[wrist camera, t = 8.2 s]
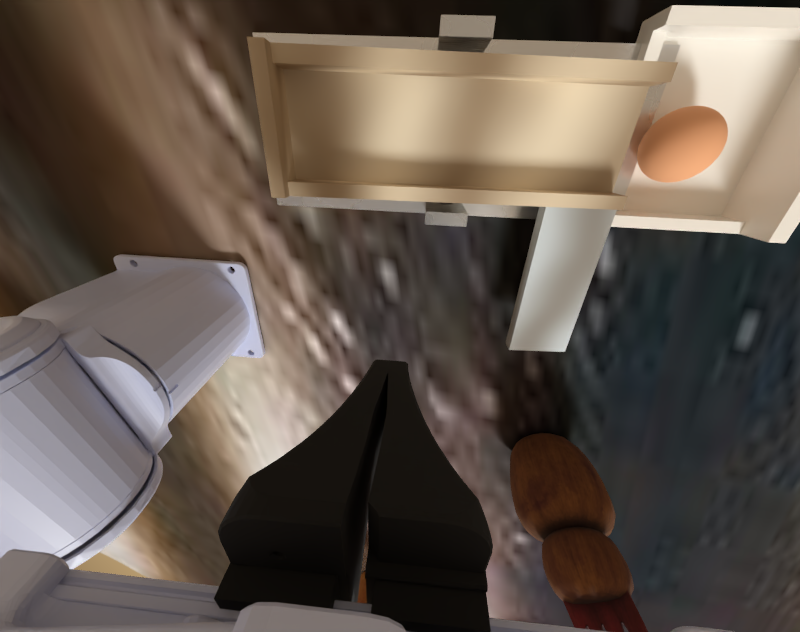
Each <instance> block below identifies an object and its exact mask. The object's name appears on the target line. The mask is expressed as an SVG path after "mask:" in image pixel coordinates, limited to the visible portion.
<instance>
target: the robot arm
mask: <svg viewBox="0 0 800 632" xmlns="http://www.w3.org/2000/svg"><path fill="white" fill-rule="evenodd" d="M113 260H114V263H115V266H116V268H117V271H114V272H112V273H110V274H107V275H105V276H102V277H100V278H97V279H95V280H93V281H90V282H88V283H85V284H83V285H80V286H78V287H75V288H73V289H71V290H68V291H66V292H63V293H61V294H58V295H56V296H54V297H51V298H49V299H46V300H44V301H41V302H39V303H37V304H34V305H33V306H31V307H29V308H27V309H26V310H24V311H23V312H21V313H20V314H19V315H18V316H7V317H0V632H607V631H598V630H589V629H581V628H572V627H564V626H555V625H546V624H538V623H529V622H521V621H512V620H503V619H495V618H489V613H488V605H487V597H486V592H487V578H486V571H485V570H486V568H487V565H488V562H489V560H490V557H491V554H492V548H493V544H492V539H491V535H490V531H489V527H488V524H487V521H486V518H485V515H484V512H483V510H482V507H481V505H480V502H479V500H478V498H477V497H476V496H475V495H474V494H473V492H472V491H471V490H470V489H469V488H468V486H467V485H466V484H465V483H464V482H463V480H462V479H461V478H460V476H459V475H458V474H457V472H456V471H455V470H454V468H453V467H452V466H451V464H450V463H449V461H448V460H447V458H446V457H445V455H444V454H443V452H442V451H441V449H440V448H439V446H438V444H437V443H436V441H435V439H434V437H433V436H432V434H431V432H430V430H429V428H428V426H427V424H426V422H425V420H424V418H423V416H422V413H421V411H420V409H419V406H418V404H417V401H416V398H415V395H414V392H413V389H412V386H411V382H410V378H409V372H408V364H407V363H406V362H401V361H388V360H375V361H374V362H373V363H372V365H371V367H370V369H369V370H368V372H367V373H366V375H365V376H364V378H363V379H362V381H361V382H360V383H359V385H358V386H357V387H356V389H355V390H354V391H353V393H352V394H351V395H350V396H349V397H348V398H347V400H346V401H345V402H344V403H343V404H342V405H341V407H340V408H339V409H338V410H337V411H336V412H335V413H334V414H333V415H332V416H331V417H330V418H329V419H328V420H327V421H326V422H325V423H324V424H323V425H322V426H320V427H319V428H318V429H317V430H316V431H315V432H314V433H312V434H311V435H310V436H309V437H308V438H306V439H305V440H304V441H303V442H301V443H300V444H299V445H297V446H296V447H294V448H293V449H292V450H290V451H289V452H288V453H286V454H285V455H284V456H282V457H281V458H279V459H278V460H276V461H275V462H273V463H271V464H270V465H268V466H266V467H265V468H263V469H262V470H260V471H258V472H257V473H255V474H253V475H252V476H250V477H249V478H248V479H247V481H246V482H245V484H244V485H243V487H242V488H241V489H240V491H239V492H238V494H237V495H236V497H235V499H234V500H233V502H232V504H231V506H230V508H229V510H228V511H227V513H226V515H225V517H224V519H223V521H222V523H221V524H220V527H219V530H218V533H219V537H220V541H221V543H222V545H223V547H224V549H225V552H226V554H227V556H228V558H229V560H230V562H231V563H230V565H229V567H228V569H227V571H226V573H225V575H224V577H223V580H222V582H221V584H220V586H211V585H202V584H194V583H185V582H177V581H168V580H159V579H151V578H141V577H134V576H124V575H116V574H108V573H99V572H91V571H81V570H73V569H74V568H75V567H77V566H79V565H80V564H82V563H84V562H85V561H87V560H88V559H90V558H91V557H92V556H94V555H96V554H97V553H98V552H100V551H101V550H103V549H104V548H105V547H107V546H108V545H109V544H110V543H112V542H113V541H114V540H115V539H116V538H117V537H118V536H120V535H121V534H122V533H123V532H124V531H125V530H126V529H127V528H128V527H129V526H130V525H131V524H132V523H133V521H134V520H135V519H136V518H137V517H138V515H139V514H140V513H141V512H142V510H143V509H144V508H145V507H146V505H147V504H148V503H149V501H150V499H151V498H152V496H153V495H154V493H155V491H156V489H157V487H158V485H159V483H160V480H161V477H162V472H163V466H162V461H161V459H160V457H159V456H158V455H157V453H158V452H159V451H160V450H161V449H162V448H163V447H164V445H165V444H166V443H167V442H168V441H169V440H170V438H171V437H172V435H171V433H170V431H169V429H168V423H169V422H170V421H171V420H172V419H173V418H174V417H175V416H176V415H177V413H178V412H179V411H180V410H181V409H182V408H183V407H184V406H185V405H186V404H187V403H188V401H189V400H190V399H191V398H192V397H193V396H194V395H195V394H196V393H197V392H198V391H199V390H200V388H201V387H202V386H203V385H204V384H205V383H206V382H207V381H208V380H209V379H210V378H211V377H212V375H213V374H214V373H215V372H216V371H217V370H218V369H219V368H220V367H221V366H222V365H223V364H224V362H225V361H226V360H227V359H228V358H229V357H230V356H240V357H253V358H261V357H263V355H264V354H265V348H264V344H263V339H262V334H261V330H260V325H259V320H258V315H257V311H256V306H255V301H254V297H253V292H252V287H251V283H250V278H249V273H248V269H247V267H246V265H245V264H243V263H241V262H232V261H217V260H202V259H186V258H171V257H156V256H140V255H125V254H120V255H117V256H115V257H114V259H113ZM135 261H136V262H137V264H138V265H137V264H136V263H135ZM230 267H233V268H234V270H235V272H234V271H232V270H231V268H230ZM251 350H252V351H253V352H251ZM367 523H368V531H369V549H368V556H367V563H366V570H365V579H366V597H367V604H366V603H357V601H358V593H359V585H360V577H361V569H362V561H363V553H364V545H365V538H366V530H367ZM670 632H733V631H729V630H720V629H711V628H702V627H694V626H683V627H678V628H675V629H673V630H672V631H670Z"/></svg>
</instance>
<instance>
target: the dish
mask: <svg viewBox="0 0 800 632" xmlns="http://www.w3.org/2000/svg"><path fill="white" fill-rule="evenodd" d="M636 44H642V46H641V49H640V52H639V55H638V58H637V60H641V61H657V60H658V57H659V55H660V52H661V49H662V46H663V44H671V45H681V46H680V48H679V51H678V54H677V56H676V59H675V62H678V64H677V67H676V70H675V72H674V75H673V78H672V80H671V82H668V83H666V86H665V89H664V91H663V94H662V97H661V99H660V102H659V105H658V108H657V110H656V113H655V116H654V118H653V121H652V124H651V126H652V125H653V124H654V123H655V122H656V121H658V120H659V119H660V118H662V117H663V116H665V115H666V114H668V113H670V112H672V111H675V110H677V109H680V108H683V107H688V106H706V107H709V108H712V109H714V110H716V111H718V112H719V113H720V114H721V115H722V116H723V117H724V119H725V121H726V123H727V127H728V137H727V141H726V144H725V146H724V149H723V150H722V152H721V154H720V155H719V157H718V158H717V159H716V160H715V161H714V162H713V163H712V164H711V165H710V166H709V167H708V168H706V169H705V170H704V171H702V172H701V173H699V174H697V175H695V176H693V177H691V178H689V179H686V180H682V181H678V182H658V181H655V180H652V179H650V178H649V177H647V176H646V175H645V174H644V173H643V172H642V171H641V169H640V167H639V165H638V161H637V164H636V167H635V170H634V172H633V175H632V178H631V180H630V183H629V186H628V188H627V191H626V194H625V196H628V197H627V200H626V203H625V205H624V208H623V210H619V211H616V214H615V216H614V219H613V222H612V225H611V227H626V228H644V229H662V230H680V231H697V232H715V233H733V234H742V235H745V236H748V237H752V238H755V239H759V240H762V241H765V242H772V243H786V242H787V240H788V239H789V237H790V236H791V234H792V233H793V231H794V230H795V228H796V226H797V225H798V223H799V222H800V8H776V7H733V6H690V5H672V6H670V7H668V8H666V9H665V10H663V11H661V12H659V13H657V14H656V15H654V16H652V17H650V18H648V19H647V20H645V21H643V22H642V25H641V28H640V31H639V35H638V38H637V41H636ZM651 126H650V127H651Z"/></svg>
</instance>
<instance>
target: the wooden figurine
mask: <svg viewBox="0 0 800 632" xmlns="http://www.w3.org/2000/svg"><path fill="white" fill-rule="evenodd" d="M510 481H511V491H512V497H513V502H514V506H515V510H516V513H517V515H518V517H519V519H520V521H521V523H522V525H523V526H524V528H525V529H526V530H527V532H529V533H530V534H531V535H532V536H533V537H535V538H536V539H537V540H539V541H541V542H543V544H542V559H543V566H544V570H545V573H546V576H547V579H548V581H549V583H550V585H551V587H552V589H553V590H554V592H555V593H556V594H557V596H558V597H559V598H560V599H561V600H562V601H563V602H564V604H565V606H566V608H567V611H568V613H569V615H570V618H571V620H572V622H573V625H574V627H575V628H581V629H588V628H589V629H590V630H598V631H604V630H603V626H604V627H605V629H606V631H607V632H624V629H623V624H624V625H625V627H626V628H627V630H628V632H648V631H647V629H646V627H645V624H644V622H643V620H642V618H641V616H640V614H639V612H638V610H637V608H636V606H635V604H634V602H633V600H632V598H631V594H632V592H633V590H634V585H633V580H632V575H631V573H630V570H629V568H628V566H627V563H626V561H625V560H624V558H623V556H622V555H621V553H620V551H619V550H618V548H617V547H616V545H615V544H614V543H613V542H612V540H611V539H610V538H608V537H607V536H608V535H610V534H611V532H612V530H613V528H614V522H615V512H614V508H613V505H612V502H611V499H610V497H609V495H608V493H607V491H606V488H605V486H604V484H603V482H602V480H601V478H600V476H599V475H598V473H597V471H596V470H595V468H594V467H593V465H592V464H591V462H590V461H589V460H588V458H587V457H586V456H585V455H584V454H583V453H582V452H581V451H580V450H579V448H578V447H576V446H575V445H573V444H572V443H571V442H569V441H568V440H567V439H565V438H564V437H562V436H558V435H554V434H550V433H538V434H532V435H529V436H526V437H524V438H522V439H521V440H519V441H518V442H517V443H516V445H515V446H514V448H513V449H512V453H511V457H510Z"/></svg>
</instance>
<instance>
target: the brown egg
mask: <svg viewBox="0 0 800 632" xmlns="http://www.w3.org/2000/svg"><path fill="white" fill-rule="evenodd" d="M727 137H728V127H727V123H726V121H725V119H724V117H723V116H722V115H721V114H720V113H719V112H718V111H716V110H714V109H712V108H709V107H706V106H688V107H683V108H680V109H677V110H675V111H672V112H670V113H668V114H666V115H665V116H663V117H662V118H660V119H659V120H658V121H656V122H655V123H654V124H653V125H652V126H651V127H650V128H649V129H648V131H647V132H646V133H645V135H644V136H643V138H642V140H641V142H640V144H639V147H638V152H637V161H638V165H639V167H640V169H641V171H642V172H643V173H644V174H645V175H646V176H647V177H649V178H650V179H652V180H655V181H658V182H678V181H682V180H686V179H689V178H691V177H693V176H695V175H697V174H699V173H701V172H702V171H704V170H705V169H706V168H708V167H709V166H710V165H711V164H712V163H713V162H714V161H715V160H716V159H717V158H718V157H719V155H720V154H721V152H722V150H723V149H724V146H725V144H726V141H727Z"/></svg>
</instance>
